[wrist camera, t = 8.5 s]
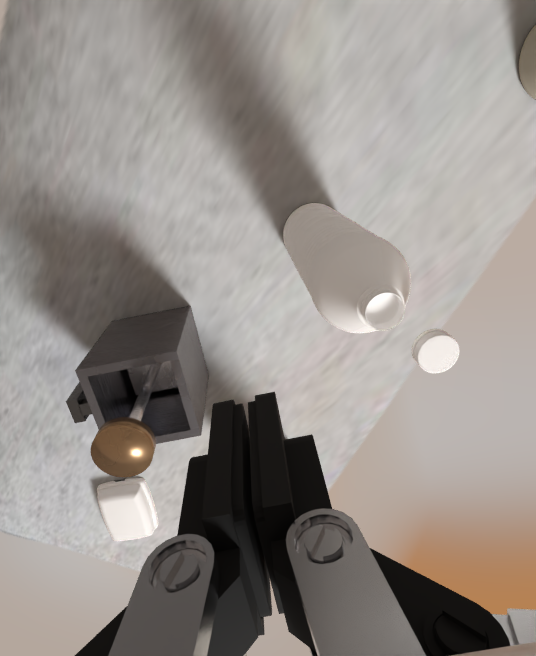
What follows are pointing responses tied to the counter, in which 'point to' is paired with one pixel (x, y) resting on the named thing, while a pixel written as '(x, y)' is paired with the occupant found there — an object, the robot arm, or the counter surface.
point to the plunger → (132, 426)
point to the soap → (127, 509)
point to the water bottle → (358, 280)
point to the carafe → (139, 350)
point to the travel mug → (529, 64)
